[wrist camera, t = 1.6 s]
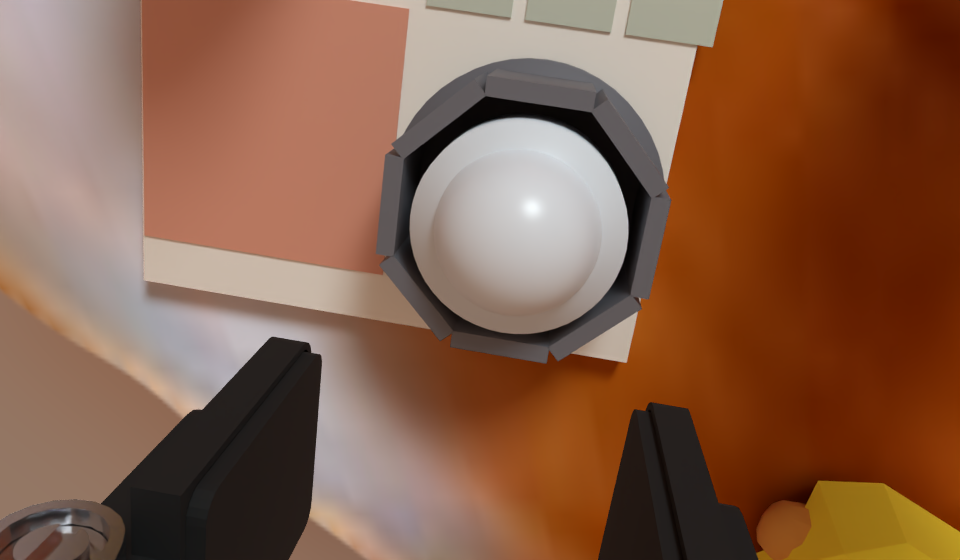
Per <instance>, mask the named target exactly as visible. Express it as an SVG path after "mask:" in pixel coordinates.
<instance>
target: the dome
mask: <svg viewBox="0 0 960 560" xmlns="http://www.w3.org/2000/svg"><path fill="white" fill-rule="evenodd" d="M410 239H411V246H412V250H413V255H414V258H415V261H416V263H417V266H418V269H419V271H420V273H421V275H422V276H423V278H424V280H425V282H426V283H427V285H428V286H429V288H430V289H431V290H432V292H433V293H434V294H435V295H436V296H437V297H438V299H439V300H440V301H441V302H442V303H443V304H444V305H446V306H447V307H448V308H449V309H450V310H451V311H453V312H454V313H456V314H457V315H459V316H460V317H462V318H463V319H465V320H467V321H469V322H471V323H473V324H475V325H477V326H480V327H483V328H486V329H489V330H493V331H497V332H501V333H511V334H531V333H538V332H544V331H548V330H552V329H555V328H558V327H560V326H563V325H565V324H568V323H570V322H572V321H573V320H575V319H577V318H579V317H581V316H582V315H583V314H585V313H586V312H587V311H589V310H590V309H591V308H592V307H594V306H595V305H596V304H597V303H598V302H599V301H600V300H601V299H602V298H603V296H604V295H605V294H606V293H607V291H608V290H609V289H610V287H611V286H612V284H613V282H614V281H615V279H616V277H617V276H618V273H619V271H620V269H621V266H622V264H623V261H624V257H625V254H626V250H627V242H628V216H627V209H626V205H625V202H624V198H623V194H622V191H621V188H620V185H619V182H618V179H617V177H616V174H615V172H614V170H613V168H612V166H611V164H610V162H609V161H608V159H607V158H606V156H605V155H604V153H603V152H602V151H601V150H600V148H599V147H598V146H597V145H596V144H595V143H594V142H593V141H592V140H591V139H590V138H589V137H588V136H586V135H585V134H584V133H582V132H581V131H579V130H578V129H577V128H575V127H573V126H571V125H569V124H567V123H566V122H563V121H561V120H558V119H555V118H553V117H549V116H544V115H540V114H532V113H511V114H505V115H500V116H496V117H492V118H489V119H486V120H484V121H482V122H479V123H477V124H475V125H473V126H471V127H470V128H468V129H467V130H465V131H464V132H462V133H461V134H460V135H459V136H458V137H456V138H455V139H454V140H453V141H452V142H451V143H450V144H449V145H448V146H447V147H446V148H445V149H444V150H443V151H442V152H441V153H440V154H439V155H438V157H437V158H436V159H435V160H434V161H433V162H432V163H431V165H430V166H429V168H428V169H427V171H426V172H425V174H424V175H423V177H422V179H421V181H420V183H419V185H418V187H417V190H416V193H415V196H414V199H413V202H412V208H411V214H410Z"/></svg>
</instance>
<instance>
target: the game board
mask: <svg viewBox="0 0 960 560" xmlns="http://www.w3.org/2000/svg"><path fill="white" fill-rule="evenodd" d="M722 4H723V0H141V83H142V168H143V254H144V280H145V281H150V282H156V283H162V284H168V285H174V286H180V287H186V288H191V289H197V290H203V291H209V292H215V293H221V294H227V295H232V296H238V297H244V298H250V299H256V300H262V301H268V302H273V303H279V304H285V305H291V306H297V307H303V308H309V309H314V310H320V311H326V312H332V313H338V314H344V315H349V316H355V317H361V318H367V319H373V320H379V321H385V322H390V323H396V324H402V325H408V326H414V327H420V328H426V329H431V330H432V332H433V333H434V334H435V335H436V337H437V338H438V339H439V340H440V341H441V340H443V339H444V338H446V337H447V336H449V335H450V334H452V337H451V344H450V347H453V348H459V349H464V350H470V351H476V352H482V353H488V354H493V355H499V356H505V357H511V358H517V359H523V360H528V361H534V362H540V363H546V364H547V358H548V353H549V350H550V352H551V353H552V354H553V356H554V357H555V358H556V359H557V361H559V360H561V359H563V358H564V357H566V356H567V355H569V354H571V353H572V354H578V355H584V356H590V357H595V358H601V359H607V360H613V361H619V362H625V363H627V358H628V354H629V349H630V345H631V340H632V336H633V331H634V327H635V322H636V318H637V313H638V311H639V310H641V309H642V308H641V304H640V300H641V298H644V299H649V296H650V291H651V287H652V283H653V278H654V274H655V269H656V265H657V261H658V256H659V252H660V247H661V243H662V239H663V234H664V230H665V225H666V221H667V217H668V212H669V208H670V203H671V199H670V197H669V195H668V194H667V192H666V189H668V188H669V187H668V185H667V179H668V175H669V170H670V166H671V161H672V157H673V152H674V148H675V143H676V139H677V134H678V130H679V125H680V121H681V116H682V112H683V108H684V103H685V99H686V94H687V90H688V85H689V81H690V76H691V72H692V67H693V63H694V58H695V54H696V49H697V45H701V46H708V47H713V43H714V39H715V34H716V30H717V26H718V21H719V17H720V13H721V8H722ZM511 113H532V114H540V115H544V116H549V117H553V118H555V119H558V120H561V121H563V122H566V123H567V124H569V125H571V126H573V127H575V128H577V129H578V130H579V131H581V132H582V133H584V134H585V135H586V136H588V137H589V138H590V139H591V140H592V141H593V142H594V143H595V144H596V145H597V146H598V147H599V148H600V150H601V151H602V152H603V153H604V155H605V156H606V158H607V159H608V161H609V162H610V164H611V166H612V168H613V170H614V172H615V174H616V177H617V179H618V182H619V185H620V188H621V191H622V194H623V198H624V202H625V205H626V209H627V216H628V242H627V250H626V254H625V257H624V261H623V264H622V266H621V269H620V271H619V273H618V276H617V277H616V279H615V281H614V282H613V284H612V286H611V287H610V289H609V290H608V291H607V293H606V294H605V295H604V296H603V298H602V299H601V300H600V301H599V302H598V303H597V304H596V305H595V306H594V307H592V308H591V309H590V310H589V311H587V312H586V313H585V314H583V315H582V316H581V317H579V318H577V319H575V320H573V321H572V322H570V323H568V324H565V325H563V326H560V327H558V328H555V329H552V330H548V331H544V332H538V333H531V334H511V333H501V332H497V331H493V330H489V329H486V328H483V327H480V326H477V325H475V324H473V323H471V322H469V321H467V320H465V319H463V318H462V317H460V316H459V315H457V314H456V313H454V312H453V311H451V310H450V309H449V308H448V307H447V306H446V305H444V304H443V303H442V302H441V301H440V300H439V299H438V297H437V296H436V295H435V294H434V293H433V292H432V290H431V289H430V288H429V286H428V285H427V283H426V282H425V280H424V278H423V276H422V275H421V273H420V271H419V269H418V266H417V263H416V261H415V258H414V255H413V250H412V246H411V239H410V214H411V208H412V202H413V199H414V196H415V193H416V190H417V187H418V185H419V183H420V181H421V179H422V177H423V175H424V174H425V172H426V171H427V169H428V168H429V166H430V165H431V163H432V162H433V161H434V160H435V159H436V158H437V157H438V155H439V154H440V153H441V152H442V151H443V150H444V149H445V148H446V147H447V146H448V145H449V144H450V143H451V142H452V141H453V140H454V139H455V138H456V137H458V136H459V135H460V134H461V133H462V132H464V131H465V130H467V129H468V128H470V127H471V126H473V125H475V124H477V123H479V122H482V121H484V120H486V119H489V118H492V117H496V116H500V115H505V114H511Z"/></svg>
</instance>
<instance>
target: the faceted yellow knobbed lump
mask: <svg viewBox="0 0 960 560" xmlns="http://www.w3.org/2000/svg"><path fill="white" fill-rule="evenodd" d="M757 542H758V543H759V544H760V546H761V547H762V548H763V549H764V550H763V551H760V552H758V553H756V554H757V557H758V560H960V532H959V531H958V530H956V529H955V528H953V527H951V526H950V525H948V524H947V523H945V522H944V521H942V520H940V519H939V518H937V517H936V516H934V515H933V514H931V513H929V512H928V511H926V510H925V509H923V508H921V507H920V506H918V505H917V504H915V503H914V502H912V501H910V500H909V499H907V498H906V497H904V496H903V495H901V494H899V493H898V492H896V491H895V490H893V489H892V488H890V487H888V486H887V485H885V484H884V483H864V482H839V481H818V482H817V484H816V486H815V488H814V490H813V492H812V494H811V496H810V498H809V500H808V502H807V504H804V503H799V502H792V501H786V500H781V501H778V502H775V503H772V504H771V505H770V506H769V507H768V508H767V510H766V511H765V512H764V513H763V514H762V516H761V519H760V521H759V524H758V526H757Z"/></svg>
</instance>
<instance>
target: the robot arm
mask: <svg viewBox="0 0 960 560" xmlns="http://www.w3.org/2000/svg"><path fill="white" fill-rule="evenodd" d="M321 368H322V359H321V355H320V354H314V353H311V347H310V344H309V343H306V342H300V341H295V340H289V339H283V338H277V337H271V338H270V339H268V341H267V342H266V343H265V344H264V345H263V346H262V347H261V348H260V349H259V350H258V351H257V352H256V353H255V354H254V355H253V357H252V358H251V359H250V360H249V361H248V362H247V363H246V364H245V365H244V366H243V367H242V368H241V369H240V370H239V371H238V372H237V374H236V375H235V376H234V377H233V378H232V379H231V380H230V381H229V382H228V383H227V384H226V385H225V386H224V387H223V388H222V390H221V391H220V392H219V393H218V394H217V395H216V396H215V397H214V398H213V399H212V400H211V401H210V402H209V403H208V404H207V405H206V407H205V408H204V409H203V410H193V411H191V412H190V413H189V414H187V415H186V416H185V417H184V418H183V419H182V420H181V421H180V422H179V424H178V425H177V426H176V427H175V428H174V429H173V430H172V431H171V432H170V433H169V434H168V435H167V436H166V437H165V438H164V439H163V440H162V441H161V442H160V443H159V444H158V445H157V446H156V447H155V448H154V449H153V450H152V451H151V452H150V454H149V455H148V456H147V457H146V458H145V459H144V460H143V461H142V462H141V463H140V464H139V465H138V466H137V467H136V468H135V469H134V470H133V471H132V472H131V473H130V474H129V475H128V476H127V477H126V478H125V479H124V480H123V481H122V483H121V484H120V485H119V486H118V487H117V488H116V489H115V490H114V491H113V492H112V493H111V494H110V495H109V496H108V497H107V498H106V499H105V500H104V501H103V502H102V503H101V504H99V503H97V502H92V501H85V500H77V499H74V500H59V501H58V500H57V501H50V502H46V503H41V504H37V505H32V506H29V507H27V508H24V509H22V510H20V511H17V512H14V513H12V514H9V515H8V516H6V517H5V518H3V519H1V520H0V560H288V559H289V558H290V556H291V554H292V552H293V550H294V548H295V546H296V544H297V542H298V540H299V539H300V537H301V535H302V533H303V531H304V529H305V526H306V524H307V521H308V517H309V514H310V509H311V501H312V488H313V475H314V461H315V448H316V435H317V421H318V408H319V395H320V381H321ZM598 560H758V557H757V554H756V551H755V548H754V546H753V543H752V540H751V537H750V534H749V532H748V529H747V526H746V523H745V520H744V518H743V515H742V513H741V511H740V509H739V508H738V507H736V506H732V505H726V504H721V503H718V500H717V497H716V494H715V491H714V488H713V484H712V481H711V478H710V475H709V472H708V469H707V465H706V462H705V459H704V456H703V453H702V450H701V446H700V443H699V440H698V437H697V434H696V431H695V427H694V424H693V421H692V418H691V415H690V412H689V410H688V409H686V408H681V407H675V406H669V405H663V404H657V403H652V402H650V403H649V404H648V406H647V408H646V411H641V410H635V409H634V411H633V413H632V416H631V419H630V424H629V428H628V432H627V437H626V441H625V445H624V450H623V454H622V458H621V462H620V467H619V471H618V475H617V480H616V484H615V488H614V493H613V497H612V501H611V506H610V510H609V514H608V519H607V523H606V527H605V531H604V536H603V540H602V544H601V549H600V553H599V558H598Z"/></svg>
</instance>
